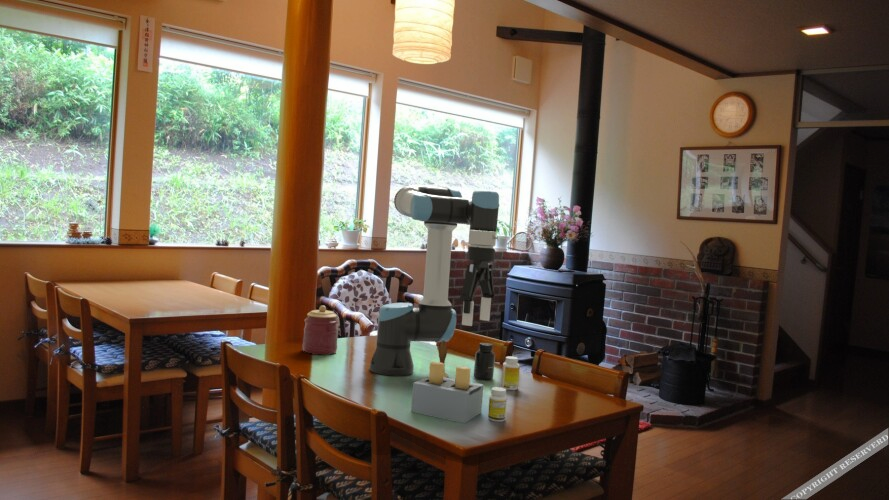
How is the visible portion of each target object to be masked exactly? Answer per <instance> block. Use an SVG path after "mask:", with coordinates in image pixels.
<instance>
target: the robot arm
mask: <svg viewBox="0 0 889 500" xmlns="http://www.w3.org/2000/svg"><path fill="white" fill-rule="evenodd" d="M393 205H394V208H395V209H396V211H397V212H398V213H399V214H401V215H403V216H406V217H408V218H411V219H412V220H414V221H419V222H423V226H424V227H425V228H427V239H426V240H427V241H426V255H425V256H426V257H425V266H424V267H425V268H424V281H423V282H424V284H423V285H424V286H423V297H422V298H421V299H420V300H419V301H418V306H417V307H415V306H414V304H413V303H411V302H393V303H391V302H390V303H387V304H384V305H382V306H381V307H379V310H378V317H377V321H378V322H377V332H376V334H377V335H376V345H375V346H376V347H375V350H374V352H373V355H372V357H371V360H370V363H369V371H370V372H372V373H375V374H378V375H384V376H392V377H393V376H394V377H395V376H396V377H397V376H398V377H401V376H409V375H412V374H413V373H414V361H413V356H412V353H411V352H412V351H411V342H424V343H425V342H430V343H431V342H433V343H437V344H438V343H441V341H442V340H444V341H445V342H449V341H450V340H451V339H452V337H453V336H454V333H455V330H456V325H457V312H456V310H455V309H453V307H452V303H451V302H450V300H449V285H450V271H451V258H452V257H451V255H452V241H453V231H454V230H455V229H456V228H457V227H458V224H459V225H467V226H469V232H468V242H467V243H468V245H470V246H468V248H467V260H469V261H472V264H471V263H467V266H466V273H465V277H464V280H463V286H462V288H461V293H460V295H459V296H460V297H459V300H460V301H463V303H462V304H463V306H462V317H461V325H462V326H469V327H472V326H473V321H474V305H475V301H474V297H475V294H476V292H477V289H478V287H479V284H480V289H481V294H482V296H481V299H480V310H479V311H480V312H479V321H486V322H490V319H491V318H490V317H491V303H492V299H495V297H496V296H495V286H494V285H495V284H494V283H495V282H494V275H493V273H494V271H493V267H494V265H493V262H495V258H496V257H495V256H496V249H495V248H494V247H495V246H496V242H497V239H498V235H497V232H498V231H497V230H498V221H499V219H498V217H499V210H500V209H499V207H500V195H499V193H498V192H497V191H493V190H479V189H478V190H473V192H472V197H471V198H465V197H463V195H462V193H461V192H460V190H459V189H457V188H454V187H448V186H436V185H435V186H434V185H424V184H423V185H422V184H411V185H407V186H404V187H402V188H400V189H399V190H398V191H397V192H396V193H395V196H394V199H393Z"/></svg>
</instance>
